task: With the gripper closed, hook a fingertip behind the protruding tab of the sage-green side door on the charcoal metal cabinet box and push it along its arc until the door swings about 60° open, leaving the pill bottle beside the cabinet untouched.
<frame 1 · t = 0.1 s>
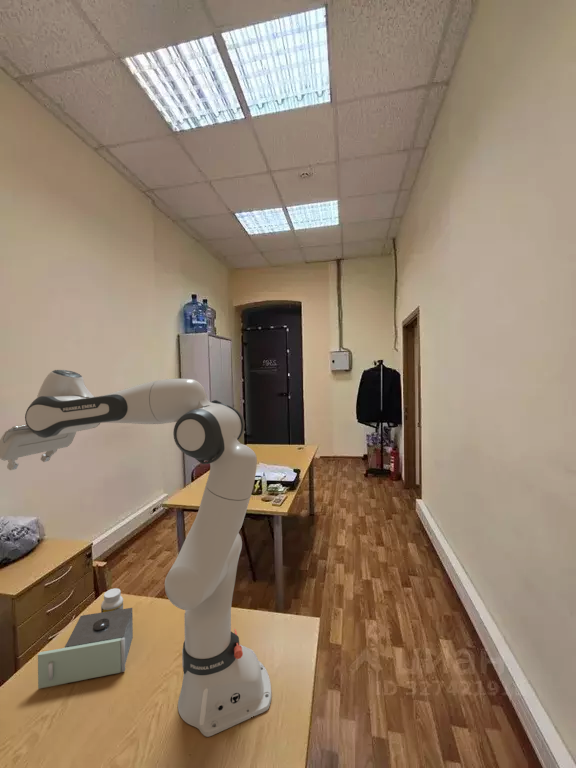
hand: (28, 464, 96), 54 cm above the table, tool tilted 30°, fingers open, 8 cm apart
pill bottle: (112, 627, 107), on the table
cabinet box: (101, 657, 95), on the table
side door: (82, 663, 87), point 5 cm above the table, hinge at 0.0°
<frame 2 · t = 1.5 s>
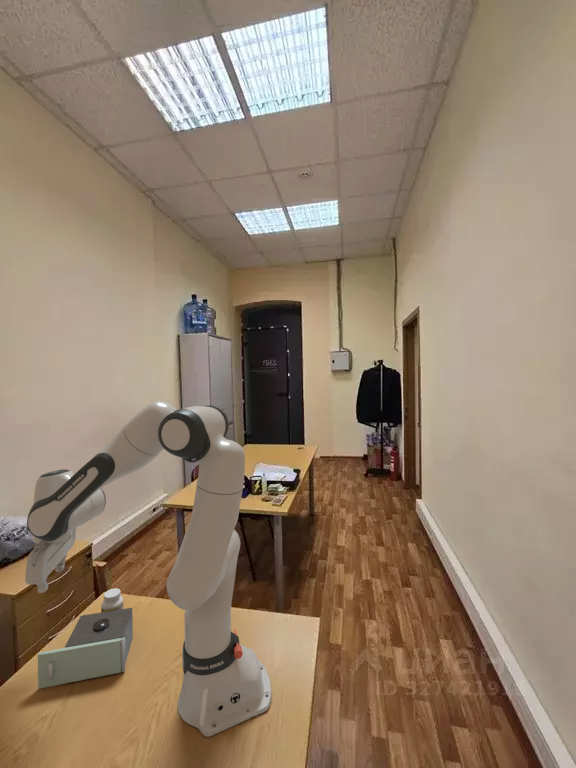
hand: (51, 580, 92), 24 cm above the table, tool pointing down, fingers open, 8 cm apart
nothing on the table moved.
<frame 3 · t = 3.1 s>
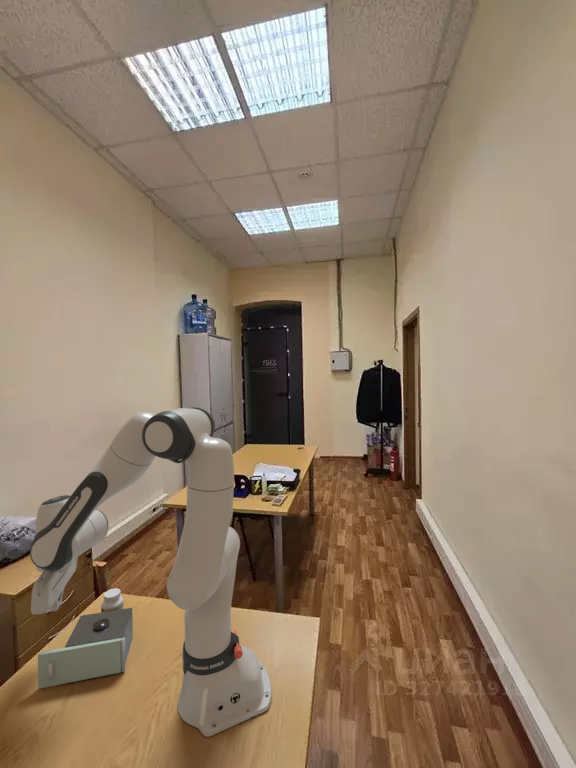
hand: (56, 607, 91), 17 cm above the table, tool pointing down, fingers closed
nothing on the table moved.
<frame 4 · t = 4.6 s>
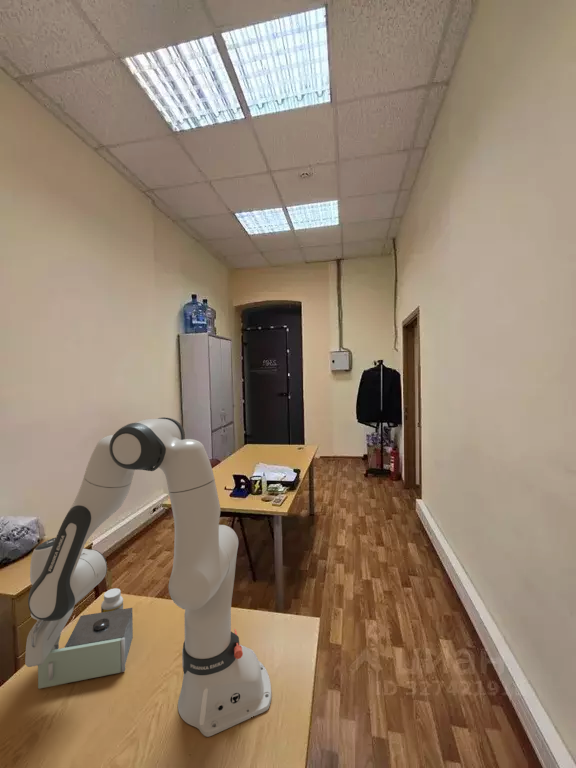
hand: (52, 654, 88), 6 cm above the table, tool pointing down, fingers closed
side door: (82, 663, 87), point 5 cm above the table, hinge at 0.0°, touching gripper
everything else where it was.
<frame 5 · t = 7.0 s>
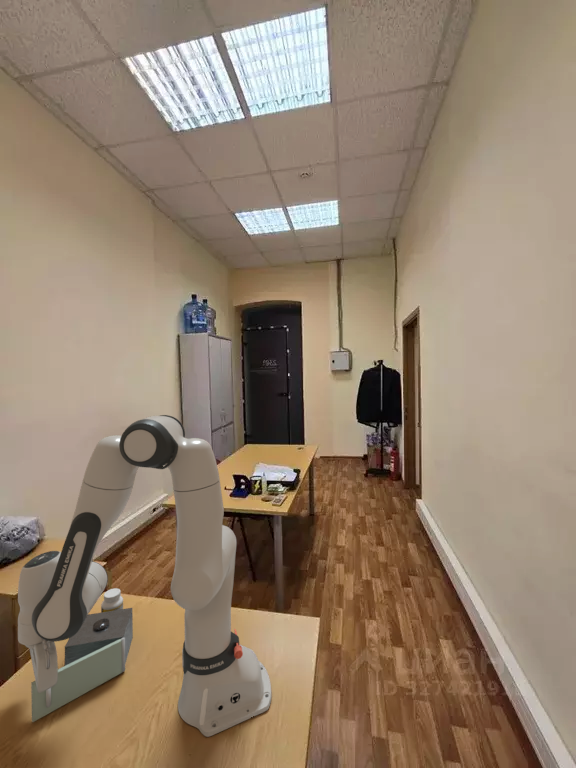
hand: (41, 682, 80), 7 cm above the table, tool pointing down, fingers closed
side door: (82, 677, 83), point 5 cm above the table, hinge at 28.8°, touching gripper
everything else where it was.
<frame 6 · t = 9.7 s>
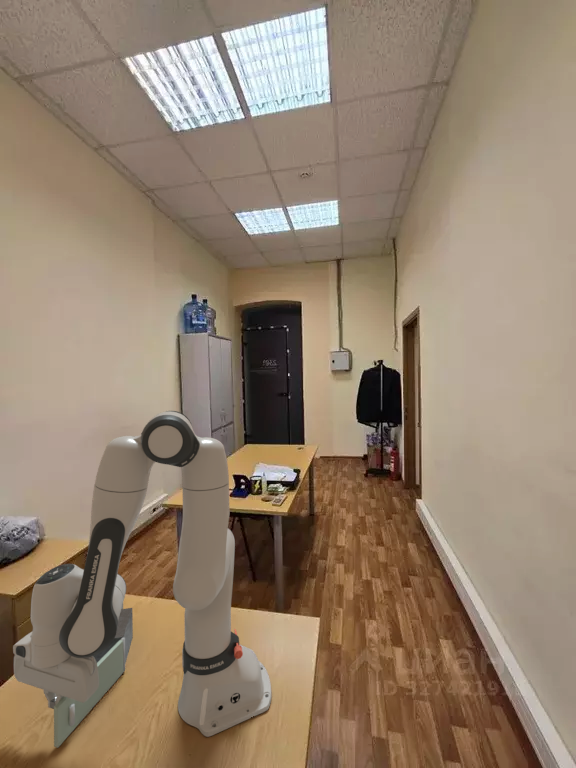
hand: (56, 706, 74), 7 cm above the table, tool pointing down, fingers closed
side door: (95, 686, 81), point 5 cm above the table, hinge at 61.0°, touching gripper
everything else where it was.
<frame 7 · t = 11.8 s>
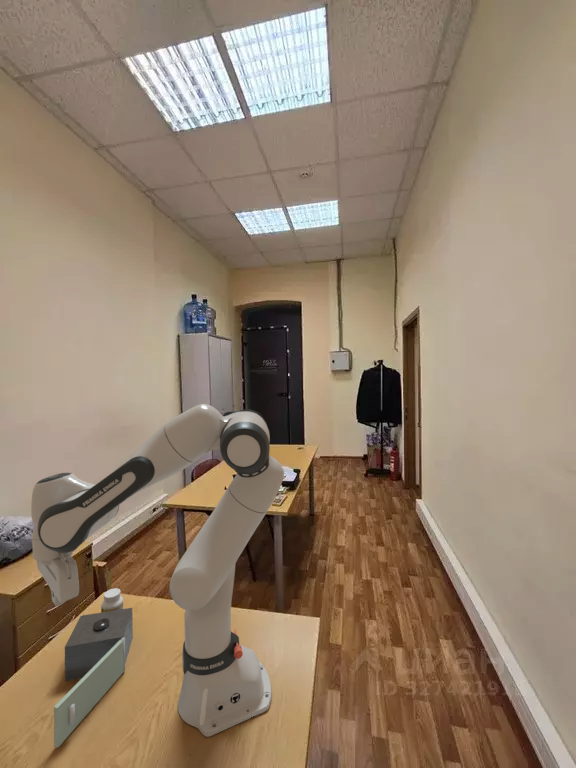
hand: (58, 602, 79), 26 cm above the table, tool pointing down, fingers closed
side door: (95, 686, 81), point 5 cm above the table, hinge at 61.0°
everything else where it was.
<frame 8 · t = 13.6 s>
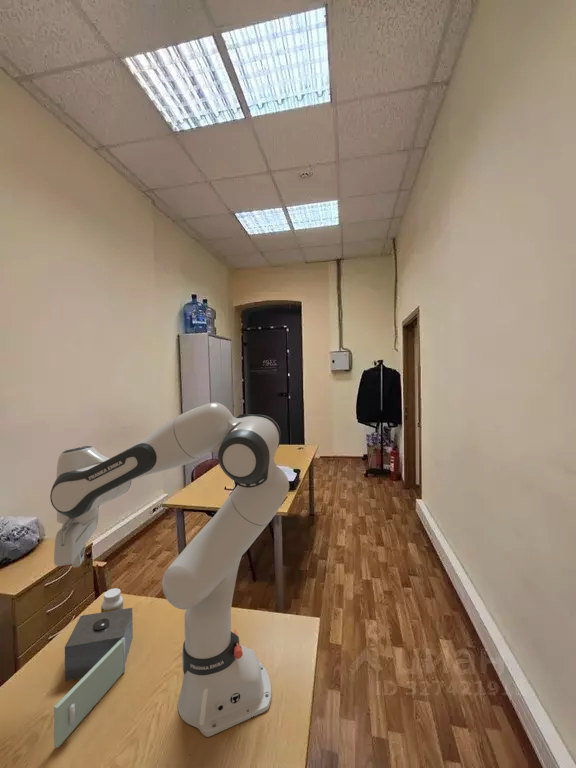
hand: (78, 564, 86), 31 cm above the table, tool pointing down, fingers closed
nothing on the table moved.
at the end: side door at +61° (first picture: +0°); pill bottle moved 0.2 cm from its start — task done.
